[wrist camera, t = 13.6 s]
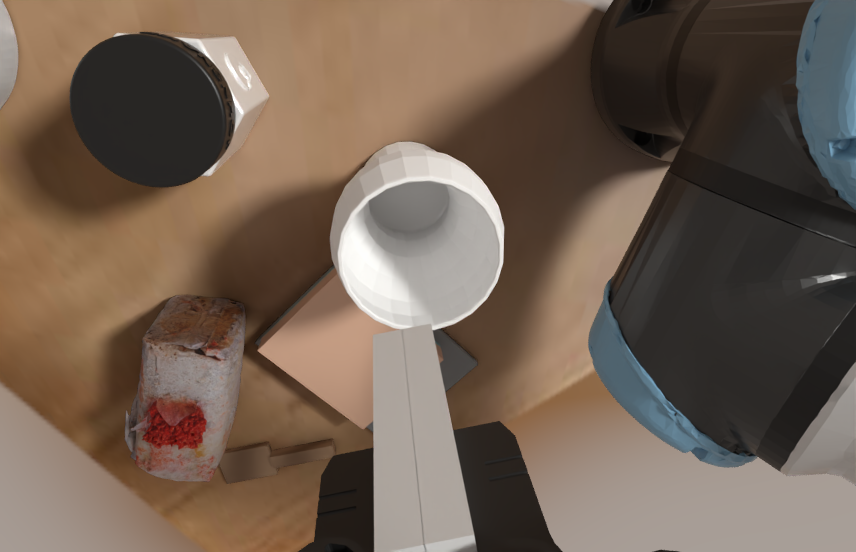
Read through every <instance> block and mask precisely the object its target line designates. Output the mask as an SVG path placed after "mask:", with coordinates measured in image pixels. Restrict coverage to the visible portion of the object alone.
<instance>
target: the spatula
mask: <svg viewBox="0 0 856 552" xmlns="http://www.w3.org/2000/svg"><path fill="white" fill-rule="evenodd" d="M334 455H336V448H335V445H334V441H333V439H329V440H324V441H319V442H313V443H308V444H303V445H297V446H292V447H287V448H281V449H276V450H271V447H270V445H269V442H264V443H258V444H253V445H248V446H243V447H238V448H233V449H228V450H225V453H224V454H223V456H222V458H221V460H220V462H219V465H220V468H221V470H222V473H223V475H224V477H225V480H226V482H227V484H229V483H234V482H240V481H245V480H250V479H256V478H261V477H266V476H272V475H277V474H278V471H279V470H278V468H280V467H286V466H291V465H296V464H302V463H307V462H312V461H318V460H323V459H328V458H332V457H333V456H334Z"/></svg>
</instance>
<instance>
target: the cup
mask: <svg viewBox="0 0 856 552" xmlns="http://www.w3.org/2000/svg"><path fill="white" fill-rule="evenodd" d="M330 246H331V255H332V261H333V263H334V266H335V268H336V270H337V273H338V275H339V278H340V280H341V282H342V284H343V286H344V288H345V290H346V292H347V293H348V295H349V296H350V297H351V299H352V300H353V301H354V302H355V304H356V305H357V306H358V308H359V309H361V310H362V311H363V312H365V313H366V314H367V315H369V316H370V317H371V318H373V319H374V320H375V321H378V322H380V323H383V324H385V325H387V326H390V327H392V328H395V329H405V328H411V327H416V326H421V325H426V324H431V325H432V330H436V329H439V328H443V327H446V326H449V325H452V324H455V323H457V322H458V321H460V320H462V319H463V318H465V317H467V316H469V315H470V314H472V313H473V312H474V311H475V310H476V309H477V308H478V307H479V306H480V305H481V304H482V303H483V302H484V301H485V300H486V299H487V298H488V296H489V295H490V293H491V291H492V290H493V288H494V287H495V285H496V283H497V282H498V278H499V275H500V272H501V268H502V265H503V252H504V225H503V221H502V217H501V213H500V209H499V206H498V204H497V203H496V201H495V199H494V198H493V196H492V194H491V192H490V191H489V189H488V187H487V186H486V185H485V183H484V182H483V181H482V179H481V178H480V177H478V176H477V175H476V174H475V173H474V172H473V171H472V170H471V169H470V168H469V167H468V166H467V165H466V164H464V163H462V162H460V161H458V160H456V159H455V158H453V157H451V156H449V155H447V154H444V153H439V152H436V151H435V150H433V149H431V148H430V147H428V146H426V145H424V144H420V143H415V142H397V143H394V144H391V145H388V146H385V147H383V148H382V149H380V150H379V151H377V152H376V153H374V154H373V156H372V157H371V158H370V159H369V160H368V161H367V162H366V164H365V166H364V168H362V169H360V170H359V171H358V173H357V174H356V175H355V176H354V177H353V178H352V179H351V180H350V182H349V183H348V184H347V185H346V186H345V188H344V190H343V192H342V194H341V196H340V198H339V200H338V202H337V204H336V207H335V211H334V216H333V221H332V227H331V233H330Z"/></svg>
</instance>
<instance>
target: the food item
mask: <svg viewBox="0 0 856 552" xmlns="http://www.w3.org/2000/svg"><path fill="white" fill-rule="evenodd" d="M244 341H245V308H244V305H243V303H239V302H235V301H230V300H229V299H225V298H209V297H200V296H192V295H177V296H175V297H173V298H171V299H170V300H169V301H168V302H167V303H166V305H165V307H164V309H163V310H162V311H161V312H160V313H159V314H158V315H157V319H156V320H155V321H154V322H153V324H152V325H151V327H150V328H149V329H148V331H147V332H146V335H145V336H144V337H143V340H142V343H143V348H142V362H141V372H140V376H139V378H140V382H139V384H138V388H137V389H138V391H137V395H136V397H135V399H134V401H133V404H132V407H131V415H128V413H127V410H126V424H125V441H126V443H127V445H128V447H129V450H130V451H131V452H132V454H131V456H130V457H131V458H133V459H134V460H135V463H136V465H137V466H138V467H139V468H141V469H143V470H144V471H145V472H147V473H149V474H151V475H154V476H156V477H160V478H165V479H172V480H175V481H203V482H209V481H210V480H211V478H212V477H213V475H214V473H215V470H216V468H217V467H218V464H219V462H220V460H221V458H222V456H223V454H224V453H225V449H226V447H227V442H228V439H229V435H230V431H231V428H232V425H233V421H234V418H235V414H236V409H237V403H238V396H239V389H240V381H241V377H240V374H241V369H242V355H243V351H244Z"/></svg>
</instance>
